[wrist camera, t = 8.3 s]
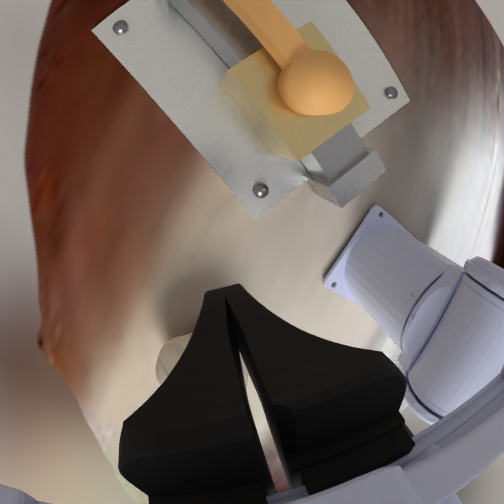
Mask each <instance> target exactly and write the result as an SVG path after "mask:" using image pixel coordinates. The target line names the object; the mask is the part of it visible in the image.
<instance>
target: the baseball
mask: <svg viewBox="0 0 504 504" xmlns="http://www.w3.org/2000/svg"><path fill="white" fill-rule="evenodd" d="M191 335H192V333H189V334H186V335H183V336H177V337H174V338H172V339H170V340H168V341H167V342H166V343H165V344H164V345H163V347H162V348H161V350H160V353H159V356H158V359H157V363H156V378H157V381H158V383H159V385H160V386H161V384H162V383H163V382H164V381H165V379H166V378H167V377H168V375H169V374H170V372H171V371H172V369H173V368H174V366H175V365H176V364H177V362H178V360H179V359H180V357H181V355H182V354H183V352H184V350H185V348H186V346H187V344H188V342H189V340H190V338H191ZM240 358H241V363H242V369H243V375H244V381H245V386H246V387H247V382H248V370H247V368H246V366H245V363H244V361H243V359H242V356H241V354H240Z"/></svg>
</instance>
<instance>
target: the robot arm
mask: <svg viewBox="0 0 504 504" xmlns="http://www.w3.org/2000/svg"><path fill="white" fill-rule="evenodd" d="M380 212H381V215H380V216H379V213H380ZM333 282H335V283H334V285H332V283H333ZM323 284H324V286H325V287H327V288H329V289H331V290H332V291H334V292H336V293H338V294H340V295H342V296H344V297H346V298H348V299H350V300H351V301H353V302H355V303H357V304H359V305H361V306H362V307H363V308H364V309H365V310H366V311H367V312H368V313H369V314H370V316H371V317H372V318H373V319H374V320H375V321H376V322H377V323H378V324H379V326H380V327H381V328H382V329H383V330H384V331H385V332H386V333H387V334H388V336H389V337H390V338H391V339H392V340H393V341H394V342H395V344H396V345H397V346H398V347H399V348H400V349H401V350H402V352H401V354H400V356H399V358H398V361H399V363H400V364H401V365H402V366H403V367H404V369H405V370H406V372H405V373H404V375H403V373H402V372H401V371H400V370H399V368H398V367H397V366H396V365H395V364H394V363H393V362H392V361H391V360H390V359H389V358H388V357H387V356H386V355H385V354H384V353H383V352H380V351H374V350H367V349H361V348H355V347H350V346H346V345H342V344H339V343H335V342H332V341H328V340H325V339H323V338H320V337H317V336H315V335H312V334H309V333H307V332H305V331H303V330H301V329H299V328H297V327H295V326H293V325H291V324H289V323H288V322H286V321H284V320H283V319H281V318H280V317H278V316H277V315H275V314H274V313H272V312H271V311H269V310H268V309H267V308H266V307H264V306H263V305H262V304H261V303H259V302H258V301H257V300H256V299H255V298H254V297H252V296H251V295H250V294H249V293H248V292H247V291H246V290H245V289H244V287H243V286H242V285H240V284H235V285H231V286H227V287H223V288H219V289H215V290H211V291H207V292H206V293H205V295H204V300H203V305H202V308H201V312H200V315H199V318H198V320H197V323H196V326H195V328H194V331H193V333H192V335H191V338H190V340H189V342H188V344H187V346H186V348H185V350H184V352H183V354H182V355H181V357H180V359H179V360H178V362H177V364H176V365H175V366H174V368H173V369H172V371H171V372H170V374H169V375H168V377H167V378H166V379H165V381H164V382H163V383H162V384H161V386H160V387H159V388H158V389H157V390H156V391H155V392H154V394H153V395H152V396H151V397H150V398H149V399H148V400H147V401H146V402H145V403H144V404H143V405H142V406H141V407H139V408H138V409H137V410H136V411H135V412H134V413H133V414H132V415H131V416H129V417H128V418H127V419H126V420H125V421H124V422H123V427H122V431H121V436H120V443H119V462H118V468H119V471H120V474H121V475H122V476H123V477H124V478H125V479H126V480H127V481H128V482H130V483H131V484H133V485H134V486H135V487H137V488H138V489H139V490H141V491H142V492H144V493H145V494H147V495H148V498H149V504H462V502H461V501H460V499H459V498H458V496H457V494H456V492H458V491H459V490H460V489H461V488H463V487H464V486H465V485H466V484H468V483H469V482H470V481H471V480H473V479H474V478H475V477H476V476H478V475H479V474H480V473H481V472H482V471H483V470H484V469H486V468H487V467H488V466H489V465H490V464H491V463H492V462H493V461H494V460H496V459H497V458H498V457H499V455H501V454H502V453H503V452H504V269H502V268H501V267H499V266H497V265H495V264H493V263H491V262H490V261H488V260H486V259H484V258H481V257H478V256H477V257H475V258H472V259H468V260H466V262H465V265H464V268H463V267H461V266H459V265H458V264H456V263H455V262H453V261H452V260H450V259H448V258H447V257H445V256H444V255H442V254H440V253H439V252H437V251H436V250H434V249H432V248H431V247H429V246H427V245H426V244H424V243H422V242H420V241H419V240H417V239H416V238H415V237H414V236H413V235H412V234H410V233H409V232H408V231H407V230H406V229H405V228H404V227H403V226H402V225H401V224H400V223H399V222H397V221H396V220H395V219H394V218H393V217H392V216H391V215H390V214H389V213H387V212H386V211H385V210H384V209H383V208H382V207H381V206H379V205H374V206H373V207H372V208H371V209H370V211H369V212H368V214H367V216H366V217H365V219H364V220H363V222H362V223H361V225H360V226H359V228H358V229H357V231H356V232H355V234H354V236H353V237H352V239H351V240H350V242H349V243H348V245H347V246H346V247H345V249H344V250H343V252H342V253H341V255H340V256H339V258H338V259H337V261H336V262H335V264H334V265H333V266H332V268H331V269H330V271H329V272H328V274H327V275H326V276H325V278H324V279H323ZM239 351H240V352H239ZM240 354H241V356H242V359H243V361H244V363H245V366H246V368H247V370H248V373H249V375H250V377H251V380H252V382H253V384H254V387H255V389H256V391H257V394H258V396H259V399H260V401H261V404H262V407H263V410H264V413H265V416H266V419H267V422H268V425H269V428H270V431H271V434H272V437H273V440H274V443H275V446H276V449H277V452H278V455H279V458H280V461H281V464H282V467H283V470H284V473H285V475H286V478H287V481H288V484H289V487H290V490H288V491H284V492H281V493H277V491H276V488H275V485H274V482H273V479H272V476H271V473H270V470H269V467H268V464H267V461H266V458H265V455H264V452H263V449H262V446H261V443H260V439H259V436H258V433H257V430H256V426H255V423H254V420H253V417H252V413H251V410H250V406H249V402H248V398H247V392H246V386H245V381H244V375H243V369H242V363H241V358H240ZM404 396H405V398H406V401H407V403H408V405H409V406H410V407H411V409H412V410H413V411H414V413H415V414H416V415H417V416H418V417H420V418H421V419H422V420H424V421H425V422H427V423H429V424H430V425H431V426H430V427H428V428H427V429H425V430H423V431H422V432H420V433H418V434H417V435H415V436H413V437H411V436H410V435H409V433H408V432H407V430H406V429H405V428H404V426H403V424H404V423H405V420H404V418H403V417H402V415H401V414H400V412H399V409H400V406H401V403H402V401H403V398H404ZM0 504H49V503H45V502H39V501H36V500H35V499H34V498H33V497H31V496H30V495H28V494H26V493H25V492H23V491H21V490H18V489H15V488H11V487H7V486H4V485H1V484H0Z"/></svg>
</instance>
